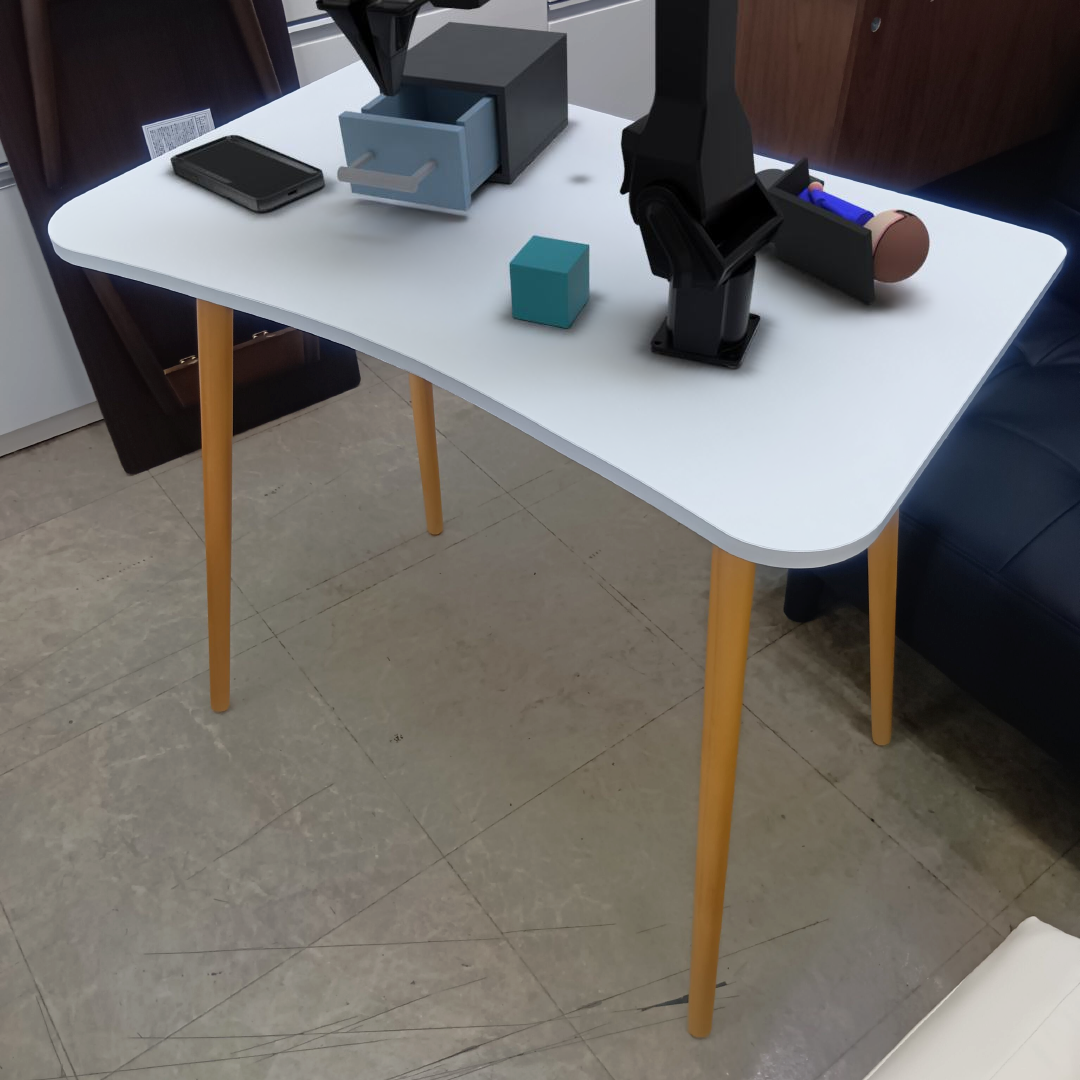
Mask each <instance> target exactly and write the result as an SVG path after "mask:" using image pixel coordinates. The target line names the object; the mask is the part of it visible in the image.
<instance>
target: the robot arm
mask: <svg viewBox="0 0 1080 1080" xmlns="http://www.w3.org/2000/svg"><path fill="white" fill-rule="evenodd" d="M490 1H491V0H316V1H315V6H316V9H317V10H318V11H320V12H321V11H322V12H326V13H327V14H328V15H329V17H330V18H331V19H332V21H333V23H335V25H336V26H337V27H338V29H339V30H340V31H341V33H342V34H343V35H344V36H345V38H346V39H347V40H348V42H349V43H350V45H351V46H352V48H353V50H354V51H355V52H356V55H358V57H359V58H360V60H361V62H362V63H363V65H364V66H365V68H366V69H367V71H368V73H369V74H370V75H371V78H372V80H374V82H375V83H376V85H377V87H378V89H379V88H380V90H381V91H382V93H383V95H385V96H390V97H394V96H395V95H397V94H398V93H399V91H400V87H401V81H402V76H403V71H404V66H405V60H406V55H407V51H408V50H409V45H410V39H411V35H412V31H413V29H414V26H415V22H416V19H417V16H418V14H419V12H420V10H421V8H422V7H423V6H424V5H426V4H427V3H430V4H431V5H432V6H433V8H439V9H452V10H464V11H465V10H466V11H469V10H475V9H480V8H482V7H483V6H485V5H486V4H487V3H489V2H490ZM738 16H739V0H654V94H653V95H654V96H653V100H652V103H651V106H650V108H649V111H648V113H646V114H645V115H643V116H641V117H640V118H638V119H637V120H635V121H634V122H632V123H631V124H629V125H627V126H626V127H624V128H622V130H621V136H620V137H621V138H620V150H621V155H622V161H623V178H622V179H623V180H622V184H621V185H620V188H619V193H620V195H621V196H624V195H627V194H628V207H629V213H630V216H631V218H632V219H631V220H632V222H633V223H634V224H635V225H636V226H638V227H639V231H640V235H641V239H642V242H643V245H644V246H643V247H644V249H645V253H646V257H647V260H648V264H649V268H650V272H651V274H652V275H653V276H655V277H657V278H660V279H664V280H666V281H667V282H668V284H669V285H668V295H667V296H668V298H667V312H666V313H667V314H666V316H665V317H664V319H663V321H662V323H661V324H660V326H659V328H658V329H657V331H656V332H655V335H654V336H653V337H652V339H651V341H650V350H651V351H652V352H655V353H661V354H664V355H670V356H675V357H680V358H685V359H690V360H696V361H701V362H706V363H711V364H716V365H721V366H726V367H732V368H737V367H740V366H741V365H742V363H743V361H744V358H745V357H746V354H747V352H748V351H749V347H750V346H751V344H752V342H753V339H754V337H755V335H756V333H757V330H758V328H759V326H760V324H761V316H760V315H759V314H756V313H752V312H750V311H751V304H752V297H753V296H752V295H753V289H754V282H755V281H754V280H755V273H756V265H757V257H756V254H758V252H760V251H761V250H762V249H763V248H764V247H766V246H767V245H770V244H769V243H770V242H772V241H773V239H774V238H775V236H776V234H777V232H778V230H779V229H780V227H781V225H782V223H783V221H784V215H783V214H782V212H781V211H780V209H779V208H778V206H777V205H776V203H775V202H774V200H773V199H772V197H771V196H770V194H769V193H768V191H767V190H766V188H765V187H764V185H763V184H762V182H761V181H760V179H759V178H758V176H757V175H756V173H757V172H756V166H755V154H754V145H753V133H752V132H753V131H752V126H751V123H750V120H749V118H748V115H747V113H746V111H745V109H744V106H743V103H742V101H741V100H740V98H739V97H740V96H739V95H738V93H737V89H736V81H735V76H736V75H735V74H736V59H737V58H736V55H737V37H738V36H737V35H738V18H739V17H738ZM380 90H379V91H380Z"/></svg>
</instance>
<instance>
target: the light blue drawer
mask: <svg viewBox="0 0 1080 1080" xmlns="http://www.w3.org/2000/svg"><path fill="white" fill-rule="evenodd" d="M338 122H339V128H340V133H341V139H342V146H343V150H344V155H345V161H346V166H344V165H343V166H342V165H341V166H339V167H338V169H337V171H336V176H337V179H338V181H339V182H341V183H349V185H350V189H351V190H350V191H351V193H352V194H357V195H363V196H370V197H376V198H381V199H389V200H394V201H401V202H407V203H411V204H412V203H413V204H419V205H424V206H425V205H426V206H432V207H437V208H438V207H439V208H443V209H451V210H457V211H461V212H467V211H468V210H469V209H470V208H471V207H472V204H473V203H472V194H473V193H474V192H475V191H476V190H477V189H478V188H479V187H481V185H482V184H483V183H484V182H485V181H487V180H486V179H487V178H488V177H489V176H490V175H491V174H492V173H493V172H494V171H495V170H496V169H497V168H498V167H499V166H500V165H501V149H500V133H499V118H498V102H497V95H491V94H483V93H475V92H466V91H458V90H450V89H441V88H433V87H425V86H416V85H408V84H401V87H400V91H399V93H398V94H397V95H395V96H394V97H390V96H385V95H383V93H381V94H380V93H379V94H378V95H377V96H375V98H373V99H372V100H371V101H369V102H368V103H366V104H365V105H364V106H362V107H361V108H360V112H358V111H357V112H356V111H348V110H344V111H343V112H342V113H340V114H339V115H338Z"/></svg>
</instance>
